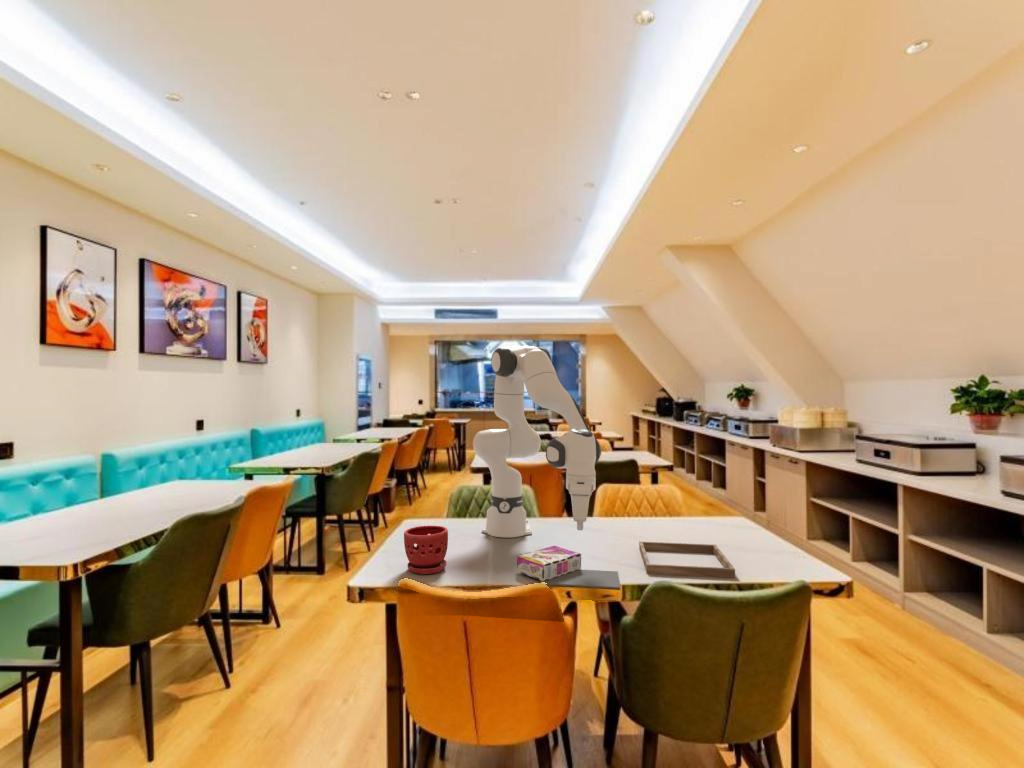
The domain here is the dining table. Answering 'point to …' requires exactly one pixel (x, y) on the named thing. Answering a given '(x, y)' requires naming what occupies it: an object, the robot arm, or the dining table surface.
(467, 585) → the dining table surface
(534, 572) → the candy bar box
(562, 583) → the mat
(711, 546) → the serving tray rim
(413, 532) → the plant pot
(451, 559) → the dining table surface
